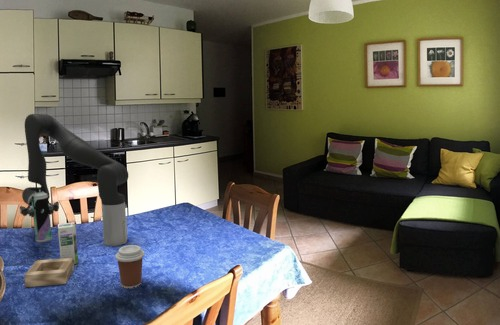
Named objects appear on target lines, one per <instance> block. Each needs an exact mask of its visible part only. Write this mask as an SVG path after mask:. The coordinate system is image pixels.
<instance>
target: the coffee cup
mask: <svg viewBox="0 0 500 325" xmlns="http://www.w3.org/2000/svg"><path fill="white" fill-rule="evenodd" d="M114 257H115V260H116V261H117V264H118V272H119V273H118V274H119V278H120V280H119V281H120V286H121V287H122V288H123V287H124V289H128V288H129V289H134V288H133V287H135V288H138V287H140V286H141V285H142V283H141V282H142V281H143V280H142V277H143V275H142V274H143V258H144V257H145V251H144V250H143V249H142V247H141V246H140V245H136V244H128V245H124V246H122V247H119V249H118V252H117V253H115V256H114ZM140 284H141V285H140ZM139 285H140V286H139ZM137 286H138V287H137Z"/></svg>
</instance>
